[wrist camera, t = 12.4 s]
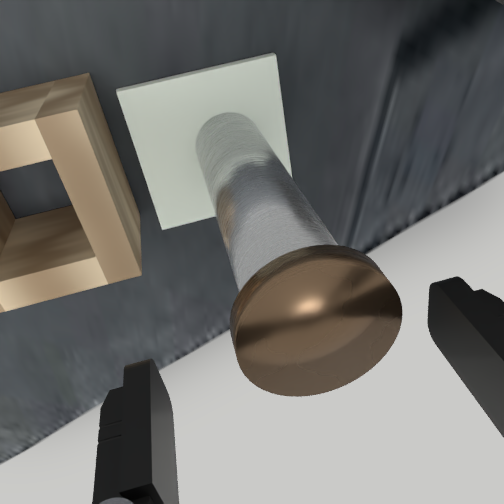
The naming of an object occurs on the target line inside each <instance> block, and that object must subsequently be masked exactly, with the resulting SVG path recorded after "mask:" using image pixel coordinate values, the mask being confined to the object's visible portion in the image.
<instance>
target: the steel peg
mask: <svg viewBox="0 0 504 504" xmlns="http://www.w3.org/2000/svg"><path fill="white" fill-rule="evenodd" d="M195 146H196V154H197V157H198V160H199V164H200V167H201V170H202V173H203V177H204V180H205V183H206V186H207V189H208V193H209V196H210V199H211V202H212V206H213V209H214V212H215V215H216V219H217V222H218V225H219V228H220V231H221V235H222V238H223V241H224V244H225V248H226V251H227V254H228V257H229V261H230V264H231V267H232V270H233V273H234V277H235V280H236V283H237V286H238V290H239V294H238V296H237V298H236V300H235V302H234V304H233V307H232V310H231V316H230V332H231V337H232V341H233V345H234V349H235V353H236V356H237V360H238V363H239V366H240V368H241V370H242V372H243V373H244V375H245V376H246V377H247V378H248V379H249V380H250V381H251V382H252V383H253V384H255V385H256V386H257V387H259V388H261V389H263V390H265V391H268V392H270V393H274V394H278V395H284V396H310V395H316V394H321V393H325V392H329V391H332V390H334V389H337V388H340V387H342V386H344V385H346V384H348V383H350V382H352V381H354V380H356V379H357V378H359V377H360V376H362V375H363V374H365V373H366V372H368V371H369V370H370V369H371V368H373V367H374V366H375V365H376V364H377V363H378V362H379V361H380V360H381V359H382V358H383V357H384V356H385V355H386V353H387V352H388V351H389V349H390V348H391V346H392V345H393V343H394V341H395V339H396V337H397V335H398V332H399V330H400V326H401V322H402V305H401V301H400V298H399V295H398V293H397V291H396V290H395V288H394V287H393V285H392V284H391V283H390V281H389V280H388V279H387V278H386V277H385V275H384V274H383V272H382V271H381V270H380V268H379V267H378V266H377V265H376V263H375V262H374V261H373V260H372V259H371V258H369V257H368V256H366V255H365V254H363V253H362V252H360V251H357V250H355V249H352V248H349V247H345V246H339V245H338V244H337V243H336V242H335V240H334V239H333V237H332V236H331V234H330V233H329V231H328V230H327V228H326V227H325V225H324V224H323V222H322V221H321V220H320V218H319V217H318V215H317V214H316V212H315V211H314V209H313V208H312V206H311V205H310V203H309V202H308V201H307V199H306V198H305V196H304V195H303V193H302V192H301V190H300V189H299V187H298V186H297V184H296V183H295V181H294V180H293V179H292V177H291V176H290V174H289V173H288V171H287V170H286V168H285V167H284V165H283V164H282V162H281V161H280V159H279V158H278V157H277V155H276V154H275V152H274V151H273V149H272V148H271V146H270V145H269V143H268V142H267V140H266V139H265V137H264V136H263V135H262V133H261V132H260V130H259V129H258V127H257V126H256V124H255V123H254V122H253V121H252V120H251V119H250V118H248V117H247V116H245V115H242V114H240V113H235V112H225V113H221V114H218V115H215V116H213V117H212V118H210V119H209V120H208V121H206V122H205V124H204V125H203V126H202V127H201V129H200V131H199V132H198V135H197V138H196V145H195Z"/></svg>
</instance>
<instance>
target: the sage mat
mask: <svg viewBox="0 0 504 504" xmlns="http://www.w3.org/2000/svg"><path fill="white" fill-rule="evenodd" d="M116 93H117V96H118V99H119V102H120V105H121V108H122V111H123V114H124V117H125V120H126V123H127V126H128V129H129V132H130V135H131V138H132V141H133V144H134V147H135V150H136V153H137V156H138V159H139V162H140V165H141V168H142V171H143V174H144V177H145V180H146V183H147V186H148V189H149V192H150V195H151V198H152V201H153V204H154V207H155V210H156V213H157V216H158V219H159V222H160V225H161V228H162V230H164V229H168V228H172V227H176V226H180V225H184V224H187V223H191V222H195V221H199V220H203V219H207V218H211V217H215V216H216V215H215V212H214V209H213V206H212V202H211V199H210V196H209V193H208V189H207V186H206V183H205V180H204V177H203V173H202V170H201V167H200V164H199V160H198V157H197V154H196V146H195V145H196V138H197V135H198V132H199V131H200V129H201V127H202V126H203V125H204V124H205V122H206V121H208V120H209V119H210V118H212V117H213V116H215V115H218V114H221V113H225V112H235V113H240V114H242V115H245V116H247V117H248V118H250V119H251V120H252V121H253V122H254V123H255V124H256V126H257V127H258V129H259V130H260V132H261V133H262V135H263V136H264V137H265V139H266V140H267V142H268V143H269V145H270V146H271V148H272V149H273V151H274V152H275V154H276V155H277V157H278V158H279V159H280V161H281V162H282V164H283V165H284V167H285V168H286V170H287V171H288V173H289V174H290V176H291V177H292V173H291V165H290V157H289V150H288V142H287V135H286V127H285V120H284V112H283V105H282V97H281V90H280V82H279V75H278V67H277V59H276V55H275V54H274V53H269V54H265V55H260V56H256V57H252V58H247V59H243V60H239V61H234V62H230V63H226V64H222V65H217V66H213V67H209V68H204V69H200V70H196V71H191V72H187V73H183V74H179V75H174V76H170V77H166V78H161V79H157V80H153V81H148V82H144V83H140V84H136V85H131V86H127V87H123V88H118V89H117V90H116Z"/></svg>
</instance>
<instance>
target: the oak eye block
mask: <svg viewBox="0 0 504 504" xmlns="http://www.w3.org/2000/svg"><path fill="white" fill-rule="evenodd" d="M50 159H52V160H53V162H54V164H55V166H56V169H57V171H58V173H59V175H60V178H61V180H62V182H63V184H64V187H65V189H66V191H67V193H68V195H69V198H70V200H71V202H72V204H73V205H71V206H67V207H63V208H59V209H55V210H51V211H47V212H43V213H39V214H35V215H31V216H27V217H23V218H19V219H15V217H14V215H13V213H12V211H11V210H10V208H9V206H8V204H7V202H6V200H5V198H4V197H3V195H2V193H1V191H0V313H1V312H5V311H8V310H12V309H16V308H20V307H24V306H27V305H31V304H35V303H39V302H42V301H46V300H50V299H54V298H57V297H61V296H65V295H69V294H73V293H76V292H80V291H84V290H88V289H91V288H95V287H99V286H103V285H107V284H110V283H114V282H118V281H122V280H125V279H129V278H133V277H137V276H141V275H142V266H141V233H140V214H139V211H138V208H137V205H136V202H135V200H134V197H133V194H132V191H131V188H130V186H129V183H128V180H127V177H126V174H125V172H124V169H123V166H122V163H121V161H120V158H119V155H118V152H117V149H116V147H115V144H114V141H113V138H112V135H111V133H110V130H109V127H108V124H107V121H106V119H105V116H104V113H103V110H102V107H101V105H100V102H99V99H98V96H97V94H96V91H95V88H94V85H93V82H92V80H91V77H90V74H89V73H86V74H81V75H77V76H73V77H68V78H64V79H60V80H55V81H51V82H46V83H42V84H38V85H33V86H29V87H25V88H20V89H16V90H12V91H7V92H3V93H0V171H4V170H8V169H12V168H17V167H21V166H25V165H29V164H33V163H37V162H41V161H46V160H50Z"/></svg>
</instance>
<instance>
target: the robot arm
mask: <svg viewBox="0 0 504 504" xmlns="http://www.w3.org/2000/svg"><path fill="white" fill-rule="evenodd" d="M428 328H429V332H430V335H431V337H432V339H433V341H434V342H435V344H436V345H437V347H438V348H439V349H440V351H441V352H442V354H443V355H444V356H445V358H446V359H447V360H448V362H449V363H450V365H451V366H452V367H453V369H454V370H455V371H456V373H457V374H458V375H459V377H460V378H461V380H462V381H463V382H464V384H465V385H466V387H467V388H468V389H469V391H470V392H471V393H472V395H473V396H474V397H475V399H476V400H477V402H478V403H479V404H480V406H481V407H482V408H483V410H484V411H485V412H486V414H487V415H488V417H489V418H490V419H491V421H492V422H493V424H494V425H495V426H496V428H497V429H498V430H499V432H500V433H501V435H502V436H503V437H504V302H503V301H502V300H501V299H500V298H498V297H496V296H494V295H492V294H490V293H488V292H487V291H485V290H483V289H480V290H476V291H473V290H472V289H471V288H470V286H469V285H468V284H467V283H466V282H465V281H464V280H463V279H461V278H460V277H453V278H449V279H446V280H442V281H439V282H435V283H432V284H431V285H430V289H429V306H428ZM99 427H100V430H99V434H98V443H99V444H98V446H97V457H96V470H95V481H94V492H93V502H92V504H179V496H178V481H177V467H176V452H175V437H174V422H173V411H172V405H171V401H170V397H169V394H168V392H167V389H166V387H165V385H164V383H163V380H162V378H161V376H160V374H159V371H158V369H157V366H156V364H155V362H154V360H153V359H148V360H144V361H141V362H137V363H133V364H130V365H126V366H125V367H124V380H123V387H120V388H116V389H112V390H110V391H109V393H108V395H107V397H106V399H105V401H104V403H103V405H102V407H101V411H100V423H99Z"/></svg>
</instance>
